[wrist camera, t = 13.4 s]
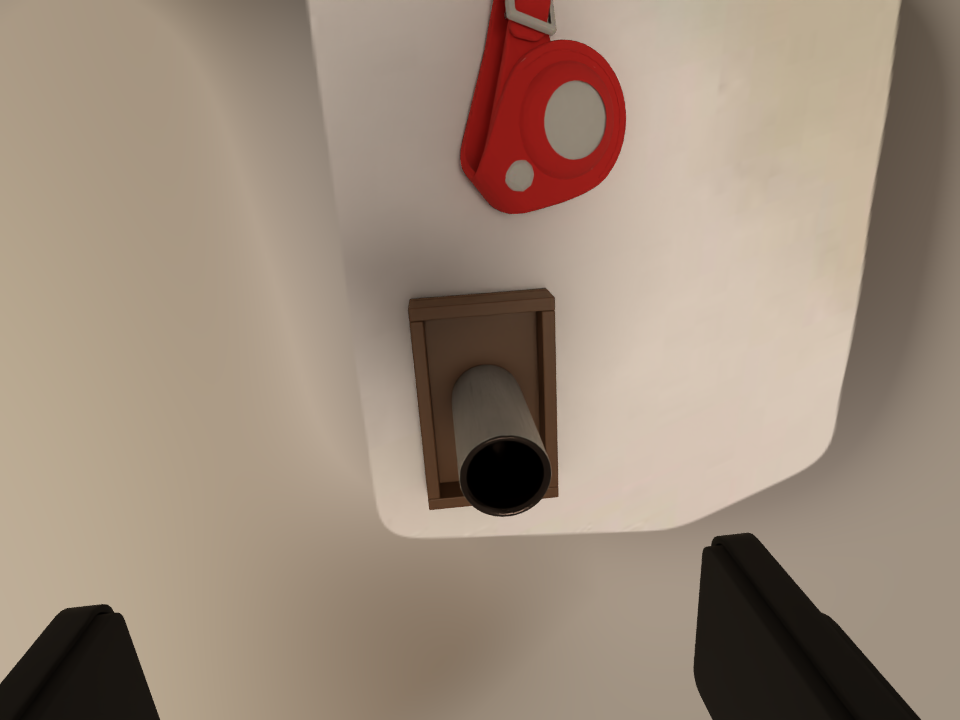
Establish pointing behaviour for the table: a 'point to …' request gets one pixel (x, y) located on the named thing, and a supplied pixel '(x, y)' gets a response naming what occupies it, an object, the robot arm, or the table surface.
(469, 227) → the table surface
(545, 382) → the shelf tray
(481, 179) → the tracker holder
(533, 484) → the gray hollow tube
